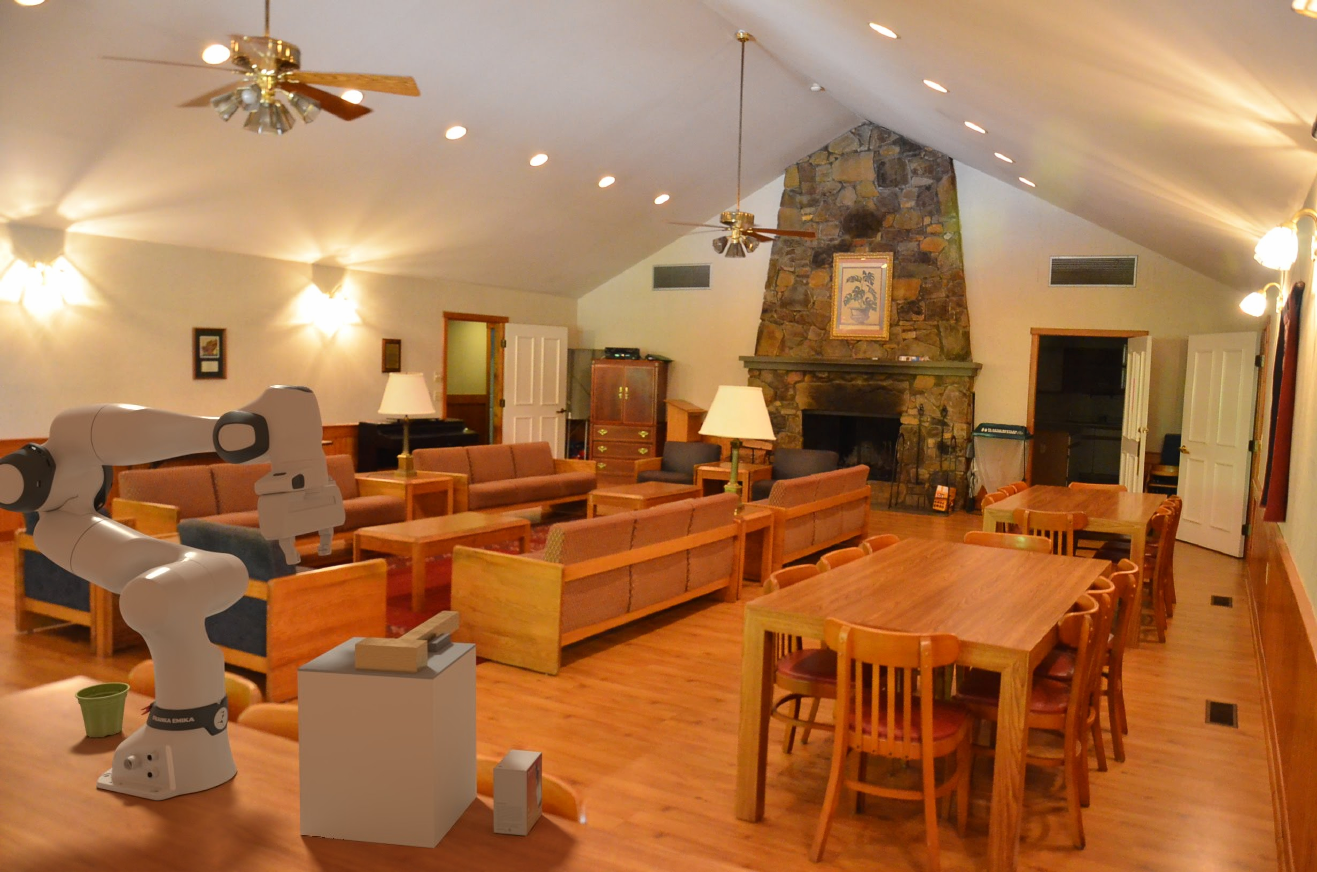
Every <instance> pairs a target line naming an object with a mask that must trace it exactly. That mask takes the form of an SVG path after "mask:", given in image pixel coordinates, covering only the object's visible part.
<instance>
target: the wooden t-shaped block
mask: <svg viewBox="0 0 1317 872" xmlns="http://www.w3.org/2000/svg"><path fill="white" fill-rule="evenodd" d="M458 629H460V611H456V610H455V611H454V610H453V611H452V610H442V611H440V612H438V613H437V614H436V615H434V616H432V617H431V618H429V619H427V620H426V621H424V622H423V623H421V624H419V625H417V626H416V627H414V628H412V629H411V630H409V631H408V632H406V633H405V634H403V635H401V636H399V637H398V638H391V637H390V638H389V637H388V638H387V637H371V636H370V637H369V636H367V637H364V638H365V639H363V640H361V641H359V642H358V643H356V644H355V670H365V671H381V672H397V673H413V674H417V673H419V672H420V671H421V670H423V669H424V668H425V667H427V666H428V653H427V650H428V642H430V641H431V640H433V639H434V638H436V637H437V636H439V635H440V634H442V633H447V634H450V635H452V634H453V633H454V632H455V631H457V630H458Z"/></svg>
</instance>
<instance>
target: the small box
mask: <svg viewBox="0 0 1317 872" xmlns="http://www.w3.org/2000/svg"><path fill="white" fill-rule="evenodd" d="M492 776H493V777H492V779H493V780H492V781H493V788H492V789H493V801H492V802H493V833H496V834H502V835H503V834H504V835H516V836H527V835H528V834H529V833H530V831H531V830H532V828H533V827H534V825H535V824H536V823H537V822H538V820H539V818H541V816H542V815H543V752H541V751H531V750H520V749H510V750H509V751H508V752H507V754H505V756H504V757H503V758H502V759H501V760H500V761H499V762H498V763H497V765H495V766H494V767H493V773H492Z"/></svg>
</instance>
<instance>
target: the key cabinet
mask: <svg viewBox="0 0 1317 872" xmlns="http://www.w3.org/2000/svg"><path fill="white" fill-rule="evenodd" d="M365 638H366V637H361V636H354V637H351V638H350V639H348V640H346V641H344V642H342V643H341V644H338V645H337V646H335V647H333V648H332V649H330V650H328V651H326V652H324V653H323V654H321V655H319V656H317V657H315V658H314V659H312V660H310V661H308V662H306V663H304V664H303V665H301V666H299V667H298V668H297V669H296V670H297V716H298V717H297V718H298V720H297V722H298V723H297V724H298V725H297V726H298V766H299V767H298V769H299V770H298V772H299V773H298V774H299V779H298V781H299V783H298V784H299V824H300V825H299V827H300V828H299V831H300V834H299V835H300V836H301V835H312V836H321V837H320V838H322V837H325V839H333V838H334V839H335V840H343V839H344V840H345V841H357V842H363V843H375V844H376V843H377V844H388V845H399V846H407V847H420V848H421V847H422V848H428V849H429V848H430V849H435V848H436V847H437V846H438V845H439V843H440V842H441V841H442V840H443V838H444V837H445V836H446V835H447V833H449V831H450V830H451V829H452V828H453V826H454V825H455V824H456V823H457V821H458V820H459V819H460V818H461V816H463V814H464V813H465V811H466V810H467V809H468V808H469V807H470V805H471V804H472V803H473V802H474V801H475V799H476V798H478V796H477V793H478V790H477V789H478V787H477V785H478V784H477V782H478V781H477V779H478V778H477V773H478V772H477V770H478V769H477V767H478V766H477V758H478V757H477V644H476V643H468V642H467V643H466V642H465V643H464V642H451V634H447V633H442V634H440V635H439V636H437V637H436V638H434V639H433V640H431V641H430V642H428V650H427V653H428V666H427V667H425V668H424V669H423V670H421V671H420V672H419V673H417V674H413V673H397V672H381V671H365V670H355V644H356V643H358V642H359V641H361V640H363V639H365ZM312 836H311V837H312Z"/></svg>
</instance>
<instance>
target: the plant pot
mask: <svg viewBox="0 0 1317 872" xmlns="http://www.w3.org/2000/svg"><path fill="white" fill-rule="evenodd" d="M130 689H131V685H129V684H128V683H124V682H105V683H98V684H94V685H90V686H86V687H83V688H81V689H79V690H78V691H76V692H75V693H74V697H75V698H76V699H77V702H78V704H79V706H80V711H81V714H82V719H83V723H84V725H83V726H84V728H85V729H84V730H85V734H86V736H87V737H88V736H89V737H88V738H91V737H102V738H104V737H106V736H109V735H110V736H114V735H116V733H117V734H119V733H120V732H122V729H123V723H124V721H123V720H124V712H125V705H126V698H127V697H128V692H129V690H130Z"/></svg>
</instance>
